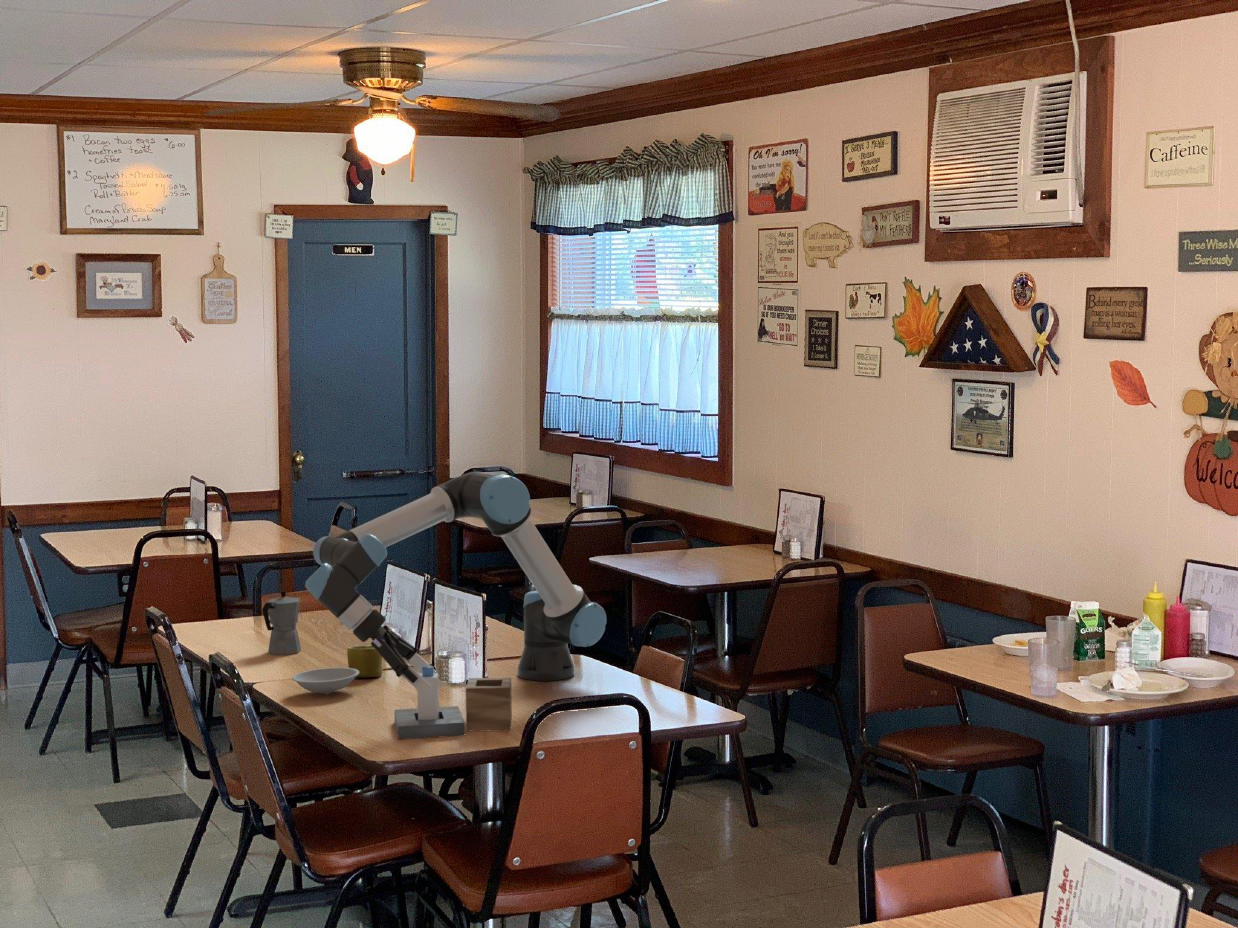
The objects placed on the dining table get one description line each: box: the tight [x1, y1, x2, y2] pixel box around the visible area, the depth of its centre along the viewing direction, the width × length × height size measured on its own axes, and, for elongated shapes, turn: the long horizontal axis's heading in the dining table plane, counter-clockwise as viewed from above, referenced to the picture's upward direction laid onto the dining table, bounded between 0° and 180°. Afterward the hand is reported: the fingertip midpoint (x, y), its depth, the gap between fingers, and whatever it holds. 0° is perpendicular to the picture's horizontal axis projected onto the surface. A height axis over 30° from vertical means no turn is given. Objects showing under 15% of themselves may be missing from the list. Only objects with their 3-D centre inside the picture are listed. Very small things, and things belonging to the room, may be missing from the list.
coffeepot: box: [261, 590, 302, 656], centre depth 409 cm, size 15×9×18 cm, turn 153°
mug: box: [346, 644, 383, 679], centre depth 382 cm, size 12×10×10 cm
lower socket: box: [394, 705, 466, 740], centre depth 329 cm, size 15×15×3 cm
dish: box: [291, 667, 359, 695], centre depth 362 cm, size 18×14×5 cm
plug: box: [417, 665, 440, 720], centre depth 328 cm, size 4×4×14 cm
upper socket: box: [465, 677, 513, 732], centre depth 331 cm, size 10×10×10 cm
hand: (429, 682), depth 328 cm, fingers open, 13 cm apart
